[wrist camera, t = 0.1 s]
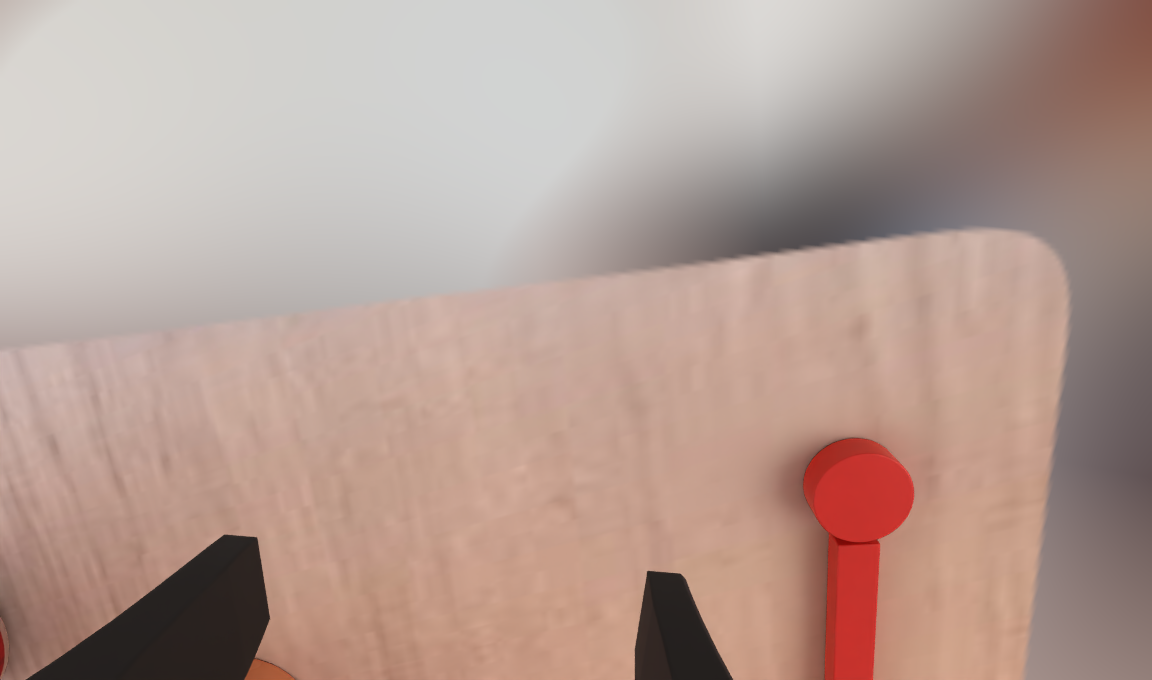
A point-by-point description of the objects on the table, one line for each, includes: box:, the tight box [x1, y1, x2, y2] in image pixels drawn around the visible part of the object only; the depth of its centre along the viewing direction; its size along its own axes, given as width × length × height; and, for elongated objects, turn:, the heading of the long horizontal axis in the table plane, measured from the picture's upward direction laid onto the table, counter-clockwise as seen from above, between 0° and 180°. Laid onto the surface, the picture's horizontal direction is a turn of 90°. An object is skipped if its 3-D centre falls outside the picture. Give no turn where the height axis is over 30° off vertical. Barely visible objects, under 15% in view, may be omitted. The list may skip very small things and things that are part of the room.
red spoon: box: [803, 438, 914, 680], centre depth 24 cm, size 14×3×1 cm, turn 4°
